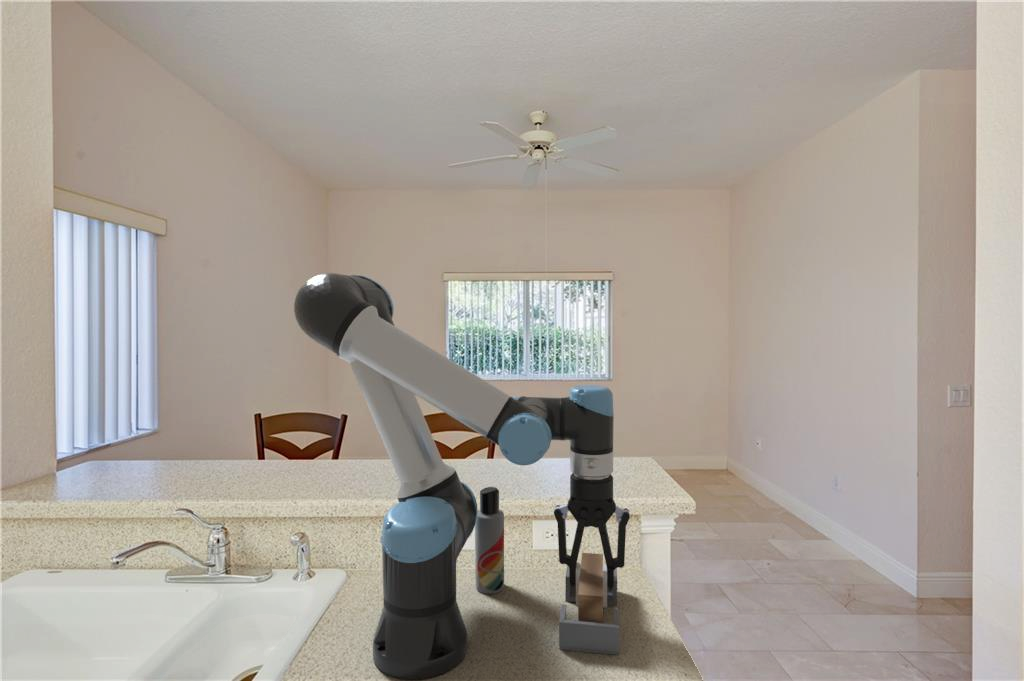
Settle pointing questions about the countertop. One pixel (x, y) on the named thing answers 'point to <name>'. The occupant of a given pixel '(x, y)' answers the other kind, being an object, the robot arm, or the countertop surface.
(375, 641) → the robot arm
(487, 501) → the lotion bottle
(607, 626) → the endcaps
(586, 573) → the slat
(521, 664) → the countertop surface
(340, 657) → the countertop surface
